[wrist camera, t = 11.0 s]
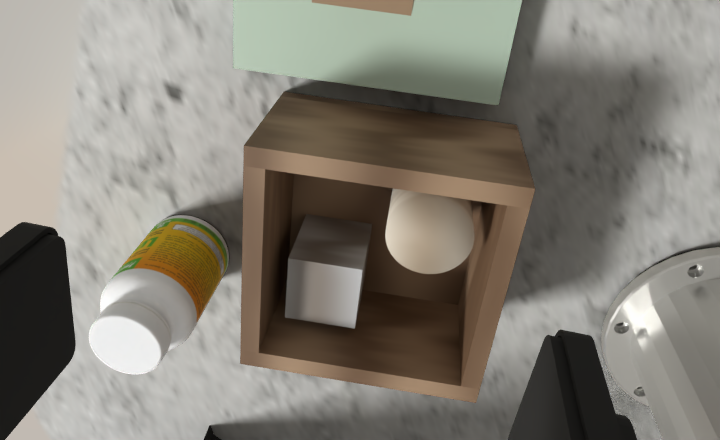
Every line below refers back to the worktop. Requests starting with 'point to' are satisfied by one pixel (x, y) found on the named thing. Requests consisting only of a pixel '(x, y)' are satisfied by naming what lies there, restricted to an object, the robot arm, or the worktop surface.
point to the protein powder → (210, 435)
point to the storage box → (379, 243)
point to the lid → (381, 43)
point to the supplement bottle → (158, 294)
